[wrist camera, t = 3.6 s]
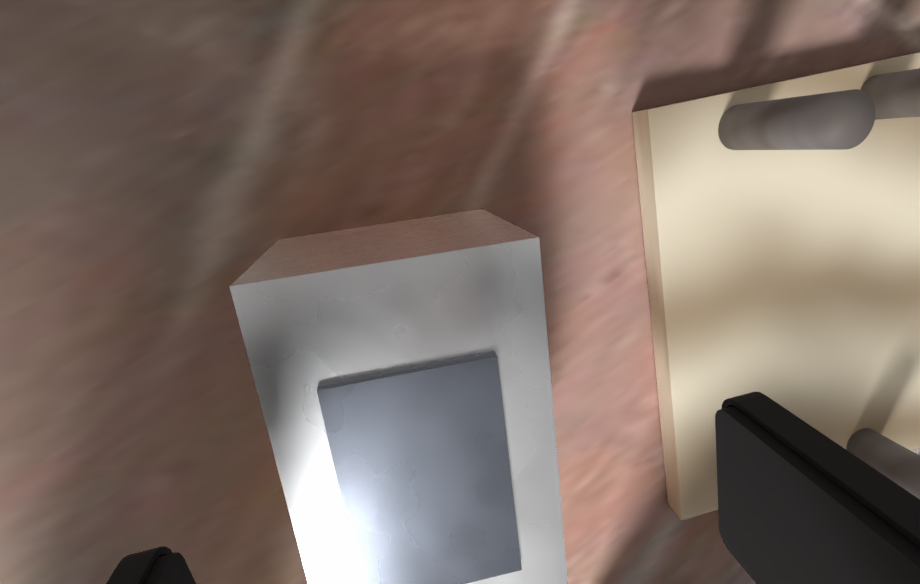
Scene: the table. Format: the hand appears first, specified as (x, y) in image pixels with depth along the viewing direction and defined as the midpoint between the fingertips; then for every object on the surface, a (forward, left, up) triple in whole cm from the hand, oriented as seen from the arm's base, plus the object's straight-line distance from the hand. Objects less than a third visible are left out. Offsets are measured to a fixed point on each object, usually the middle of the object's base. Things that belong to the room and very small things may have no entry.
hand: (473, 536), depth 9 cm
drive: (-1, +1, -9) cm, 9 cm away
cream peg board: (-2, -14, -9) cm, 17 cm away
